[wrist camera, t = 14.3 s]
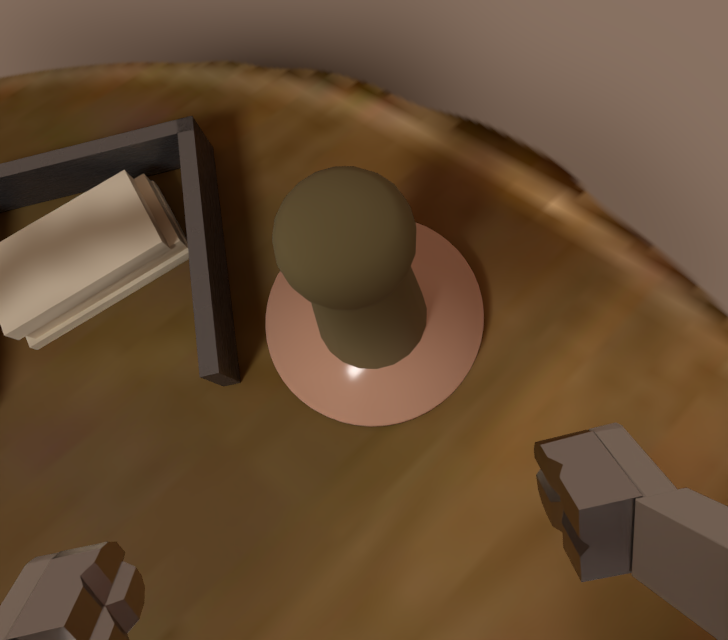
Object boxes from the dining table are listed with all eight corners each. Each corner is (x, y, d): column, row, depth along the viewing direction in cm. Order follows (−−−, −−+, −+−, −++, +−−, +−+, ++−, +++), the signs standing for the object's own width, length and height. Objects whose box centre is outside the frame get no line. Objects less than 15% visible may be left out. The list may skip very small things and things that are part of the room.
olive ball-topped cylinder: (376, 243, 27) (347, 106, 17) (450, 317, 26) (469, 215, 15) (295, 312, 27) (212, 214, 16) (366, 393, 25) (324, 341, 14)
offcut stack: (198, 257, 30) (175, 235, 27) (42, 351, 29) (1, 339, 26) (161, 189, 32) (135, 161, 29) (13, 275, 31) (-28, 256, 28)
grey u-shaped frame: (240, 382, 27) (218, 373, 24) (-43, 444, 28) (-96, 442, 25) (212, 147, 32) (192, 115, 29) (-27, 206, 32) (-71, 181, 30)
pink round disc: (512, 261, 27) (515, 255, 26) (434, 464, 24) (434, 464, 24) (323, 197, 30) (320, 190, 29) (233, 374, 27) (228, 372, 26)
